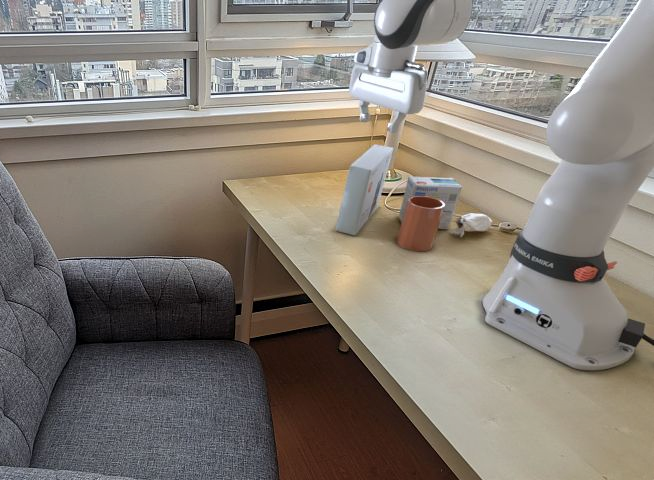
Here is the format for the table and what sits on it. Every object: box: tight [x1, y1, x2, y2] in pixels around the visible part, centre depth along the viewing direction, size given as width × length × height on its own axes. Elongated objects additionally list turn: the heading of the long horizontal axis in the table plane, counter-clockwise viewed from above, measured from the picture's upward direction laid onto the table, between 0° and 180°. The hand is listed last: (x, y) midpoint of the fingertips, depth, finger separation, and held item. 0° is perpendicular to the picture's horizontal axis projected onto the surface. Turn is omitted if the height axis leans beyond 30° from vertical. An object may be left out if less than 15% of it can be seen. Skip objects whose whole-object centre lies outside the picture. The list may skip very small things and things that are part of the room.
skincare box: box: [335, 143, 395, 236], centre depth 115 cm, size 21×5×16 cm, turn 148°
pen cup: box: [396, 196, 445, 252], centre depth 105 cm, size 7×7×10 cm
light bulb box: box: [398, 175, 463, 230], centre depth 114 cm, size 11×7×11 cm, turn 84°
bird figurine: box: [450, 212, 495, 239], centre depth 111 cm, size 5×7×10 cm
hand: (377, 126), depth 107 cm, fingers open, 8 cm apart
